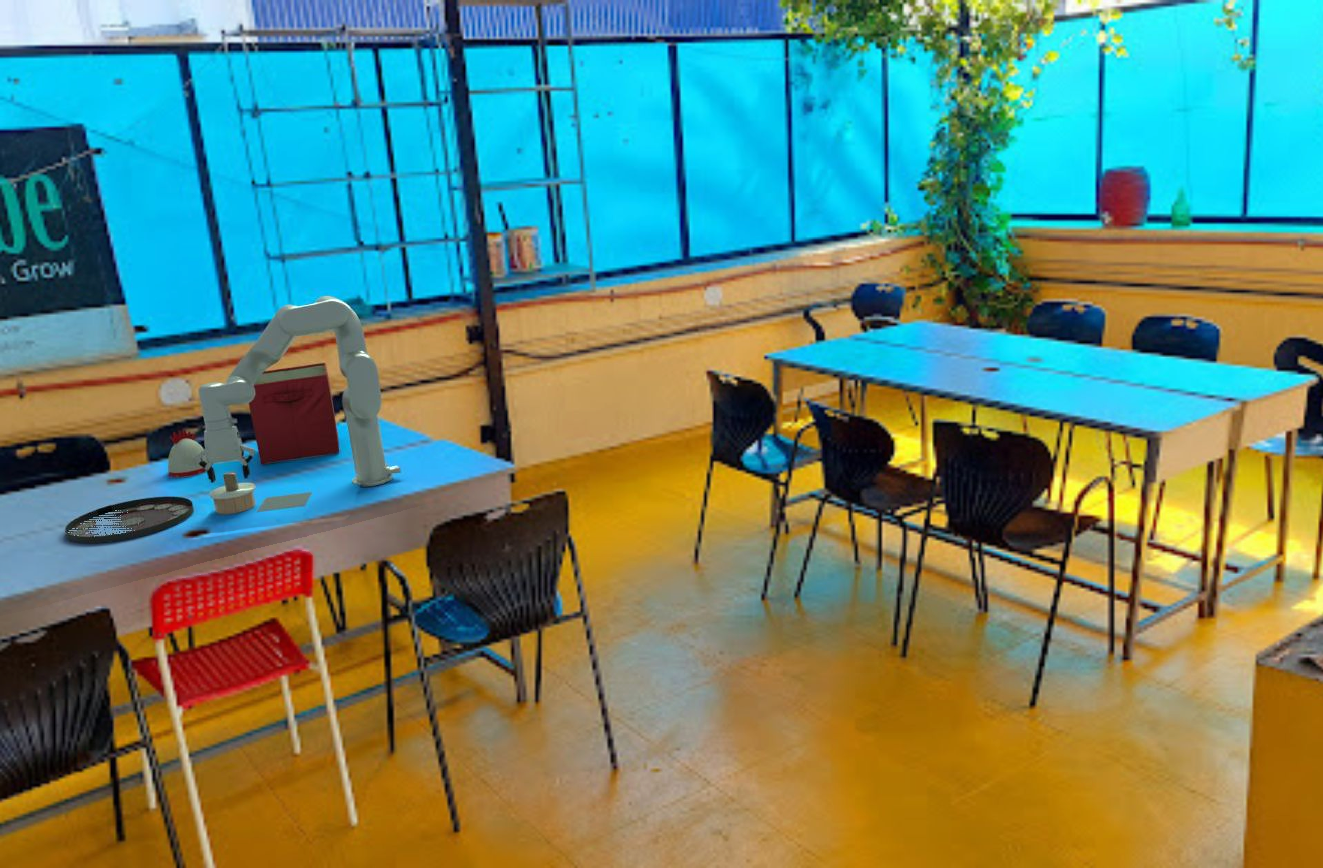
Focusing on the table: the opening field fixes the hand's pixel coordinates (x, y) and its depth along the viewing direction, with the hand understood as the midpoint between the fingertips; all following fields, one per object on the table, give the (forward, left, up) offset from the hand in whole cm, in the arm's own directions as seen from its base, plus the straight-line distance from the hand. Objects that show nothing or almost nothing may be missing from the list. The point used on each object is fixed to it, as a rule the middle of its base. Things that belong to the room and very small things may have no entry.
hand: (230, 479), depth 330 cm
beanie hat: (+28, -56, -10) cm, 63 cm away
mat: (-14, 0, -10) cm, 18 cm away
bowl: (0, 0, -10) cm, 10 cm away
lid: (0, 0, -4) cm, 4 cm away
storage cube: (-8, -65, -10) cm, 66 cm away
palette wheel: (+31, -2, -11) cm, 33 cm away
